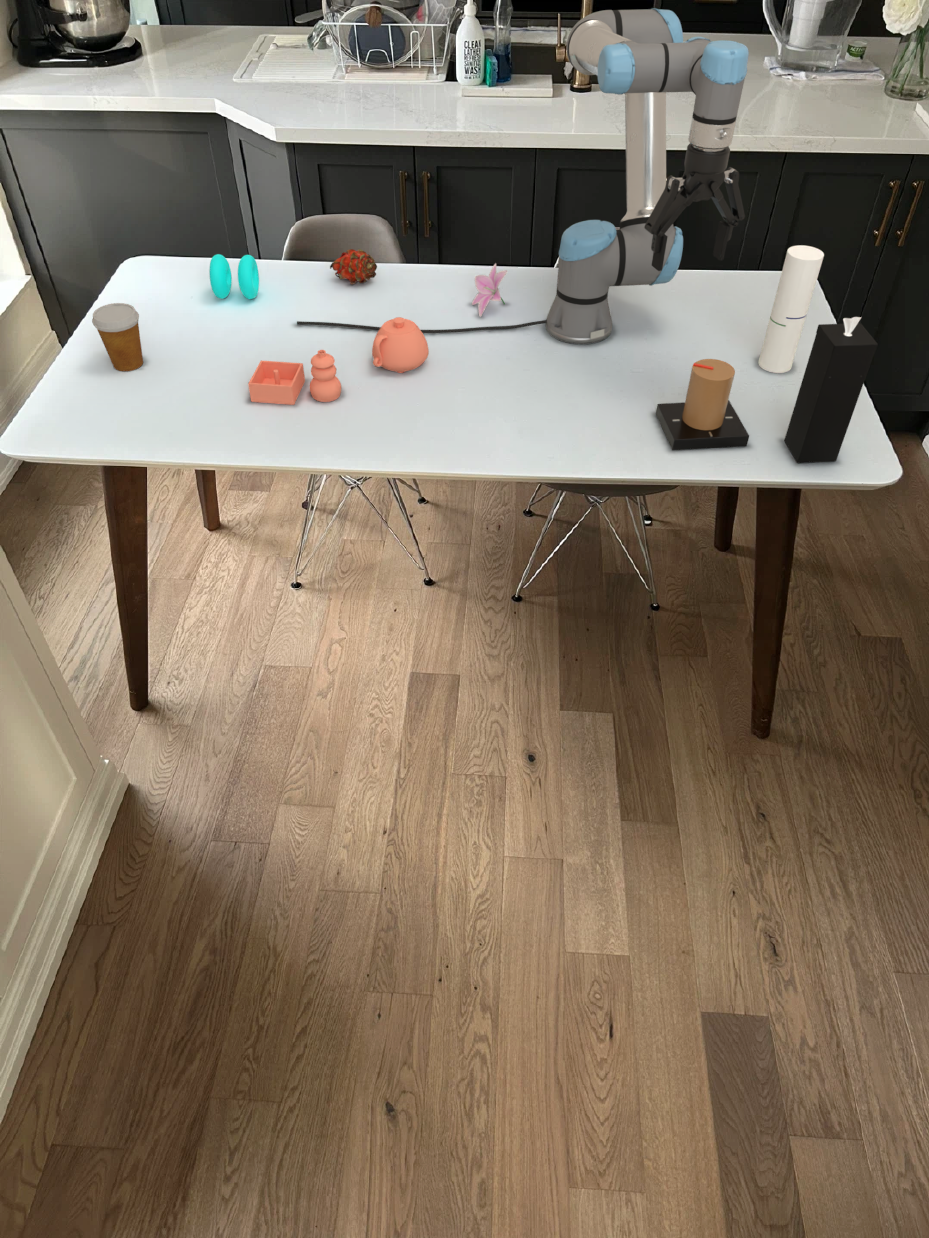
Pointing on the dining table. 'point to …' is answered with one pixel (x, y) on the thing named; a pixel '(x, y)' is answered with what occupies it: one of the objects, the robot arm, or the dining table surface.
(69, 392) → the dining table surface
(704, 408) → the tan pointer knob
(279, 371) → the terracotta box and gourd
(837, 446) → the tissue box
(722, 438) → the control knob panel
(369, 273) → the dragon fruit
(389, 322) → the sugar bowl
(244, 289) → the donuts
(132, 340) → the disposable coffee cup
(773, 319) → the cylindrical container
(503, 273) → the lily
